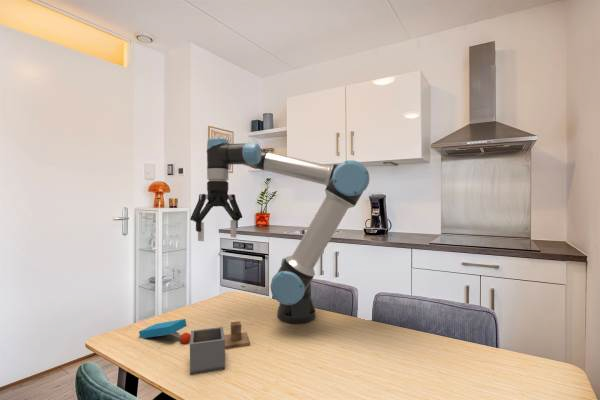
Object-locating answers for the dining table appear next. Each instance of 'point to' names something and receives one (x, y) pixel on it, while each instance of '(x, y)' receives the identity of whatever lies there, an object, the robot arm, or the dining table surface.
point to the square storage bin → (207, 350)
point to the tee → (236, 337)
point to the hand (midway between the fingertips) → (217, 239)
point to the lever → (167, 330)
